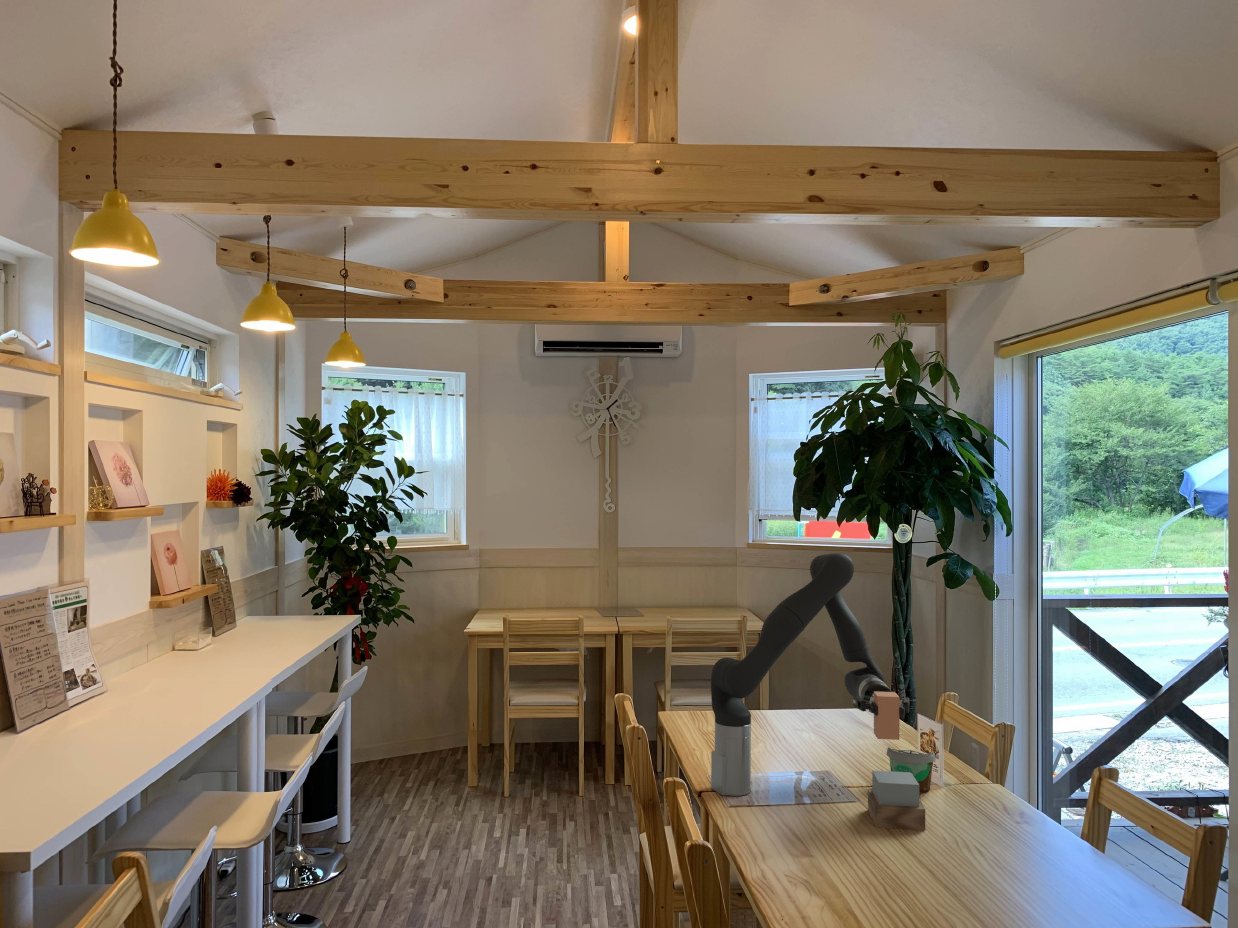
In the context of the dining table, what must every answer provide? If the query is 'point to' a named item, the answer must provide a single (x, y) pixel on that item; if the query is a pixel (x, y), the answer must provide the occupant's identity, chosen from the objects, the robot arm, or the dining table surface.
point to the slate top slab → (895, 788)
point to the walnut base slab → (896, 815)
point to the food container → (913, 765)
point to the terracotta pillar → (886, 715)
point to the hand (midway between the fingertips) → (888, 711)
